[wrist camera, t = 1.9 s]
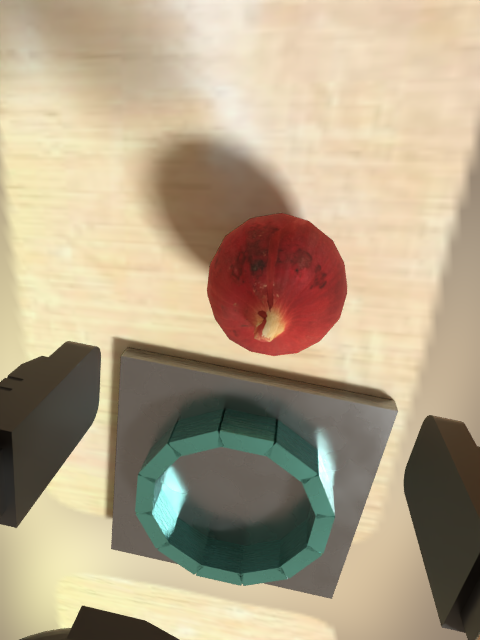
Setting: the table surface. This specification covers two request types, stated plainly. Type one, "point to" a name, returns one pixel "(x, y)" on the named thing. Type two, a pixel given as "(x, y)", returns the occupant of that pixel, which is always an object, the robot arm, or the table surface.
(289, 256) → the onion
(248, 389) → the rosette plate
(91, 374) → the robot arm
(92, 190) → the table surface
